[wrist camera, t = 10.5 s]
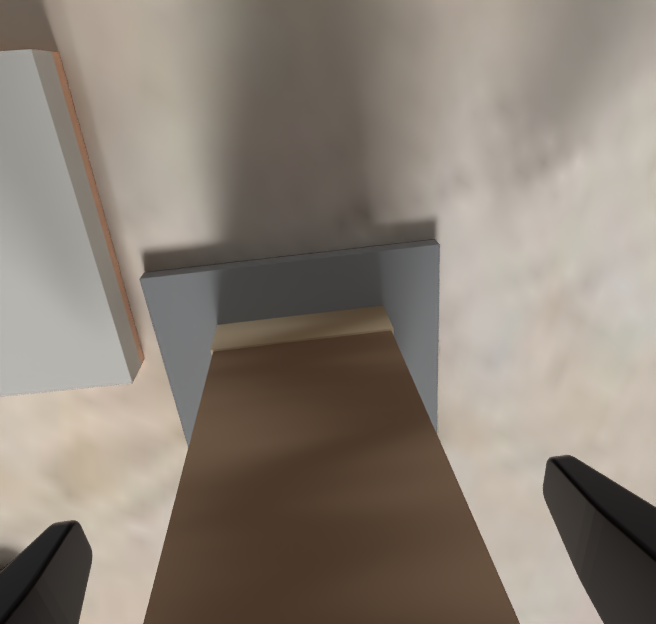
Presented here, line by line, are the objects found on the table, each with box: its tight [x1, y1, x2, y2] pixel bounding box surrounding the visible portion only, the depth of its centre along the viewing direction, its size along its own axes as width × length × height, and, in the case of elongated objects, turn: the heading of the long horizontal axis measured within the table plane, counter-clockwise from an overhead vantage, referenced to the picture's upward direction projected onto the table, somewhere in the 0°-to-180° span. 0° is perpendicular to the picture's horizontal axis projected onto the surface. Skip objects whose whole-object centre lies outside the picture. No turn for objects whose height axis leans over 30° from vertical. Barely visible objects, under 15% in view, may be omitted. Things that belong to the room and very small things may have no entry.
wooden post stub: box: [143, 306, 520, 624], centre depth 8 cm, size 4×4×9 cm
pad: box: [140, 239, 440, 448], centre depth 13 cm, size 7×7×1 cm
